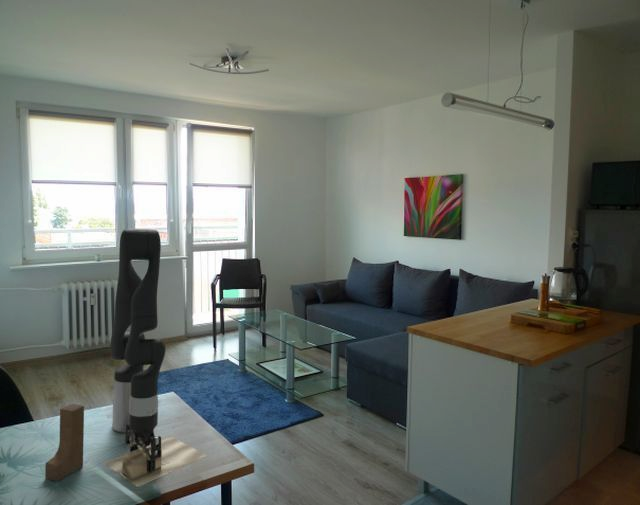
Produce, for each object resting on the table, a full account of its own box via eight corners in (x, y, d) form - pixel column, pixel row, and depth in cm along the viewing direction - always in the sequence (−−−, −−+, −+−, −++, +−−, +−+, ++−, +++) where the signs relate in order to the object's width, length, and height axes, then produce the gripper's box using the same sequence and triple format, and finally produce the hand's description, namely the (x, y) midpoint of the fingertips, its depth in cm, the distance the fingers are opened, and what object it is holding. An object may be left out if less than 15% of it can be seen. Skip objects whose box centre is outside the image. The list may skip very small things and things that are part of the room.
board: (103, 467, 136) (103, 463, 136) (171, 440, 154) (171, 436, 154) (137, 491, 125) (137, 486, 125) (206, 459, 143) (207, 455, 143)
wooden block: (57, 482, 127) (58, 417, 126) (44, 478, 128) (45, 414, 127) (83, 466, 136) (84, 405, 134) (71, 463, 137) (72, 403, 136)
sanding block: (122, 474, 130) (122, 455, 130) (151, 462, 137) (151, 443, 137) (132, 481, 127) (132, 461, 127) (161, 468, 134) (161, 449, 134)
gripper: (117, 406, 132) (116, 462, 134) (145, 421, 124) (144, 480, 125) (141, 399, 138) (140, 452, 139) (170, 413, 130) (168, 470, 131)
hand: (142, 465), depth 132 cm, fingers open, 8 cm apart
